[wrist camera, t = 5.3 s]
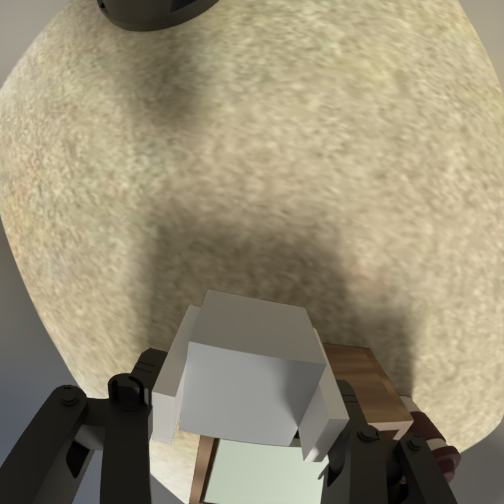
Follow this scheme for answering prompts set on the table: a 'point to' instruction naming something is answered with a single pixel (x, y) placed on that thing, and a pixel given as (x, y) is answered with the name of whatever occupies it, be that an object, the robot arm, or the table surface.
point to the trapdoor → (263, 475)
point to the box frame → (367, 392)
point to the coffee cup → (433, 440)
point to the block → (249, 370)
